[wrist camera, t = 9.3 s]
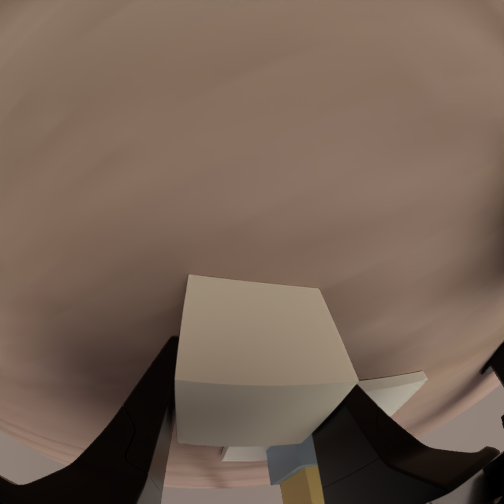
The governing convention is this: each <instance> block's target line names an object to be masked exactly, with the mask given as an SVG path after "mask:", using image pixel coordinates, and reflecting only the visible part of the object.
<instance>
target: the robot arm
mask: <svg viewBox="0 0 504 504" xmlns="http://www.w3.org/2000/svg"><path fill="white" fill-rule="evenodd" d="M179 338H180V336H171V337H170V338H169V340H168V341H167V343H166V344H165V345H164V347H163V348H162V350H161V351H160V353H159V354H158V355H157V357H156V358H155V360H154V361H153V362H152V364H151V365H150V367H149V368H148V369H147V371H146V372H145V374H144V375H143V377H142V378H141V379H140V381H139V382H138V384H137V385H136V387H135V388H134V389H133V391H132V392H131V394H130V395H129V397H128V398H127V400H126V401H125V402H124V404H123V405H124V406H122V407H121V408H120V409H119V411H118V412H117V414H116V415H115V416H114V418H113V419H112V420H111V422H110V423H109V424H108V426H107V427H106V428H105V429H104V430H103V431H102V433H101V434H100V435H99V436H98V437H97V438H96V439H95V440H94V441H93V442H92V443H91V444H90V446H89V447H88V448H87V449H86V450H85V451H84V452H83V453H82V454H81V455H80V456H79V457H78V458H77V459H76V460H75V461H74V462H73V463H71V464H70V465H68V466H67V467H65V468H63V469H61V470H59V471H56V472H54V473H52V474H50V475H48V476H45V477H43V478H41V479H38V480H36V481H33V482H31V483H28V484H24V485H18V484H16V483H14V482H12V481H10V480H8V479H6V478H4V477H2V476H1V475H0V504H161V498H162V491H163V484H164V478H165V472H166V466H167V460H168V454H169V448H170V442H171V437H172V431H173V426H174V421H175V416H176V405H175V372H176V363H177V354H178V346H179ZM492 371H494V372H495V374H496V376H497V377H498V379H499V380H500V382H501V384H502V385H503V387H504V345H503V346H502V347H501V349H500V350H499V351H498V352H497V354H496V355H495V356H494V357H493V358H492V360H491V361H490V362H489V363H488V364H487V366H486V367H485V368H484V369H483V370H482V371H481V375H482V376H483V375H486V374H488V373H490V372H492ZM501 419H502V422H503V423H502V424H503V428H504V415H503V416H502V417H501ZM311 434H312V439H313V444H314V449H315V454H316V459H317V464H318V470H319V475H320V480H321V486H322V492H323V497H324V503H325V504H504V451H503V452H501V453H500V451H499V450H497V449H496V448H493V447H488V446H486V447H485V448H483V449H482V450H480V451H479V452H475V453H467V452H466V453H465V452H457V451H448V450H441V449H434V448H430V447H428V446H426V445H424V444H422V443H421V442H420V441H418V440H417V439H416V438H414V437H413V436H412V435H411V434H409V433H408V432H407V431H406V430H404V429H403V428H402V427H401V426H400V425H398V424H397V423H396V422H395V421H394V420H393V419H392V418H391V417H390V416H388V415H387V414H386V413H385V412H384V411H383V410H382V409H381V408H380V407H379V406H378V405H377V404H376V403H375V402H374V401H373V400H372V399H371V398H370V397H369V396H368V395H367V394H366V393H365V391H364V390H363V389H362V388H361V387H360V386H359V385H358V384H356V385H355V386H354V387H353V389H352V390H351V391H350V392H349V393H348V394H347V396H346V397H345V398H344V399H343V400H342V401H341V403H340V404H339V405H338V406H337V407H336V408H335V409H334V410H333V411H332V413H331V414H330V415H329V416H328V417H327V418H326V419H325V420H324V421H323V422H322V423H321V424H320V425H319V426H318V427H317V428H316V429H315V430H314V431H313V432H312V433H311Z"/></svg>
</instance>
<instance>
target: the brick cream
mask: <svg viewBox="0 0 504 504" xmlns="http://www.w3.org/2000/svg"><path fill="white" fill-rule="evenodd" d="M358 381H359V380H358V378H357V375H356V373H355V370H354V368H353V365H352V363H351V361H350V358H349V356H348V353H347V351H346V349H345V346H344V344H343V342H342V339H341V337H340V335H339V332H338V330H337V328H336V326H335V323H334V321H333V319H332V317H331V314H330V312H329V310H328V308H327V305H326V303H325V301H324V299H323V297H322V294H321V292H320V290H319V288H310V287H299V286H289V285H279V284H269V283H259V282H250V281H241V280H232V279H223V278H215V277H207V276H199V275H191V274H189V276H188V282H187V289H186V295H185V302H184V308H183V315H182V323H181V330H180V338H179V346H178V354H177V363H176V372H175V405H176V425H177V440H178V443H179V444H189V445H202V446H223V447H256V446H277V445H290V444H300V443H302V442H303V441H304V440H305V439H306V438H307V437H308V436H309V435H310V434H311V433H312V432H313V431H314V430H315V429H316V428H317V427H318V426H319V425H320V424H321V423H322V422H323V421H324V420H325V419H326V418H327V417H328V416H329V415H330V414H331V413H332V411H333V410H334V409H335V408H336V407H337V406H338V405H339V404H340V403H341V401H342V400H343V399H344V398H345V397H346V396H347V394H348V393H349V392H350V391H351V390H352V389H353V387H354V386H355V385H356V384H357V382H358Z"/></svg>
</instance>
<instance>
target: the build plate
mask: <svg viewBox="0 0 504 504" xmlns="http://www.w3.org/2000/svg"><path fill="white" fill-rule="evenodd" d="M427 380H428V379H427V377H426V375H425V373H424V371H420V372H415V373H410V374H404V375H398V376H392V377H386V378H379V379H371V380H363V381H358V382H357V384H358V385H359V386H360V387H361V388H362V389H363V390H364V391H365V393H366V394H367V395H368V396H369V397H370V398H371V399H372V400H373V401H374V402H375V403H376V404H377V405H378V406H379V407H380V408H381V409H382V410H383V411H384V412H385V413H386V414H387V415H388V416H391V415H392V414H394V413H395V412H396V411H397V410H398V409H399V408H400V407H401V406H402V405H403V404H404V403H405V402H406V401H407V400H408V399H409V398H410V397H411V396H412V395H413V394H414V393H415V392H416V391H417V390H418V389H419V388H420V387H421V386H422V385H423V384H424V383H425V382H426V381H427ZM269 448H270V446H256V447H224V448H223V451H222V453H221V457H222V461H224V462H246V461H267V455H266V451H267V450H268V449H269Z"/></svg>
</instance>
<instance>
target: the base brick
mask: <svg viewBox="0 0 504 504" xmlns="http://www.w3.org/2000/svg"><path fill="white" fill-rule="evenodd" d="M266 455H267V462H268V469H269V476H270V482H271V485H277V484H280V483H281V482H283V481H285V480H286V479H288V478H289V477H291V476H293V475H294V474H296V473H297V472H299V471H300V470H302V469H303V468H304V467H310V466H316V465H318V464H317V459H316V454H315V449H314V444H313V439H312V434H310V435H309V436H308V437H307V438H306V439H305V440H304V441H303V442H302V443H300V444H290V445H277V446H270V448H269V449H268V450H267V451H266Z"/></svg>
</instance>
